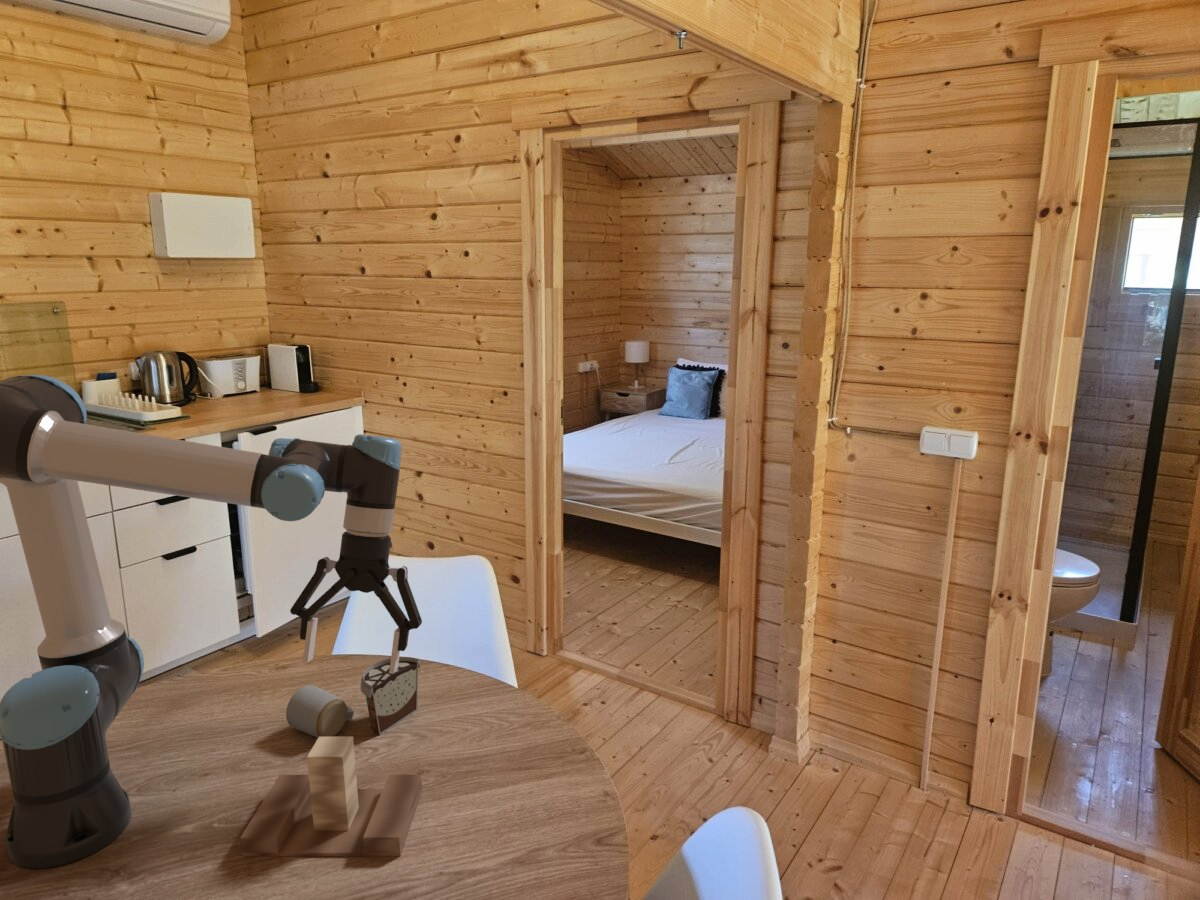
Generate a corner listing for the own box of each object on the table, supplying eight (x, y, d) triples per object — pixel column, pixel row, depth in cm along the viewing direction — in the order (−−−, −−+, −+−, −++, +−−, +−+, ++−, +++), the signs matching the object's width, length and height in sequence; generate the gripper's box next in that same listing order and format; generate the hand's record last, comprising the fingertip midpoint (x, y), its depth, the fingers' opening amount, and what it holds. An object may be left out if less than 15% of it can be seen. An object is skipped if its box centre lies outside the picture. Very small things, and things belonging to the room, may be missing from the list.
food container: (398, 697, 153) (395, 649, 151) (422, 706, 150) (420, 657, 148) (348, 729, 143) (344, 677, 140) (373, 739, 140) (369, 687, 137)
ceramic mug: (320, 749, 137) (316, 707, 135) (286, 735, 141) (283, 695, 139) (365, 719, 146) (363, 680, 144) (333, 708, 150) (330, 670, 148)
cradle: (242, 856, 112) (240, 837, 112) (281, 791, 126) (279, 774, 125) (400, 855, 112) (399, 837, 112) (422, 791, 126) (421, 774, 125)
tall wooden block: (314, 830, 117) (307, 756, 114) (325, 807, 121) (319, 736, 119) (348, 830, 117) (342, 756, 114) (358, 807, 121) (353, 736, 119)
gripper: (449, 539, 132) (433, 667, 132) (296, 520, 131) (280, 650, 131) (441, 545, 125) (424, 681, 125) (279, 525, 124) (262, 662, 124)
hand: (350, 665), depth 128 cm, fingers open, 13 cm apart
